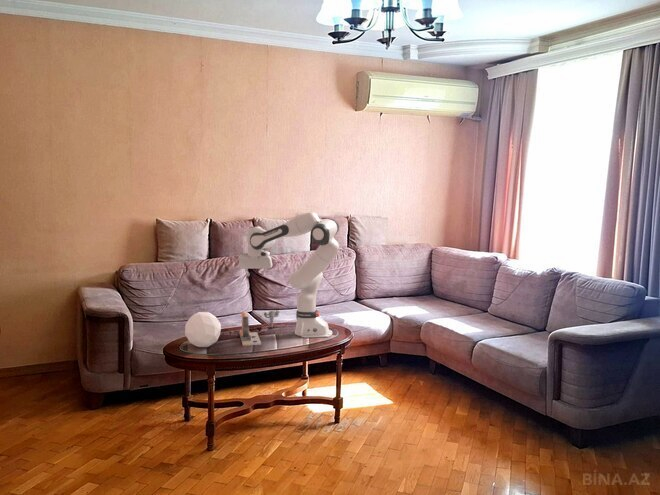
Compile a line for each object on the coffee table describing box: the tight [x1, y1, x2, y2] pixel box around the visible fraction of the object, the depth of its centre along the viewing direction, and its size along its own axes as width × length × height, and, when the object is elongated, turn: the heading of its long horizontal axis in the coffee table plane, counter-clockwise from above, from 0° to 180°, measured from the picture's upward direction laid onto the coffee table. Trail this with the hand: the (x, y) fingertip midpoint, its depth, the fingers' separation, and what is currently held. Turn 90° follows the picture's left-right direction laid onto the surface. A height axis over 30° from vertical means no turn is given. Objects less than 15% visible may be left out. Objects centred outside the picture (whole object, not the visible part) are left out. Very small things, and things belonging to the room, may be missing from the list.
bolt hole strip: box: [249, 331, 262, 346], centre depth 335 cm, size 23×6×1 cm, turn 13°
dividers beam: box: [239, 315, 251, 347], centre depth 333 cm, size 23×5×16 cm, turn 13°
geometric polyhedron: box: [184, 311, 222, 348], centre depth 321 cm, size 19×20×20 cm
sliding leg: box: [239, 311, 248, 337], centre depth 335 cm, size 5×5×13 cm
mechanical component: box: [263, 309, 280, 328], centre depth 363 cm, size 3×10×10 cm, turn 127°
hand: (255, 275), depth 354 cm, fingers open, 8 cm apart
